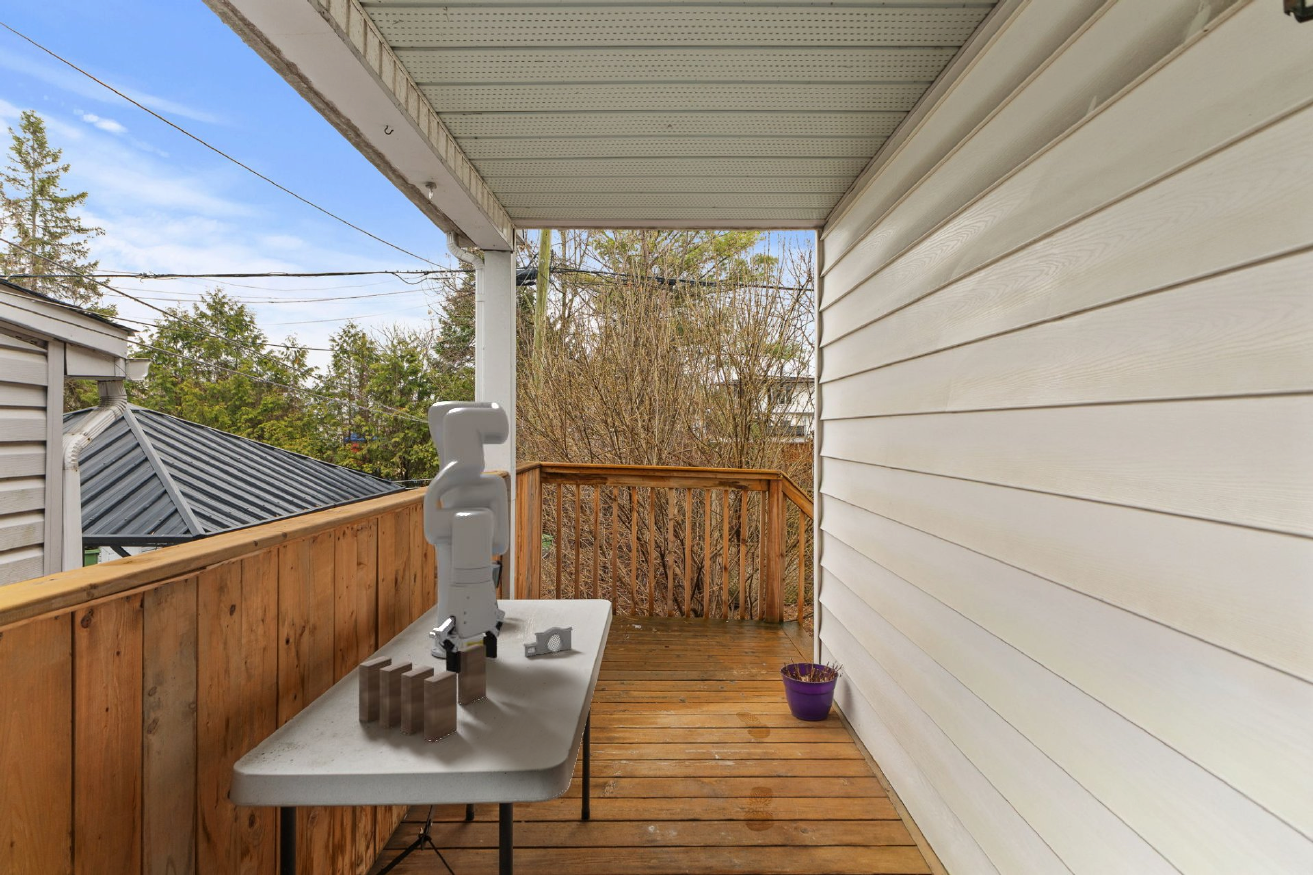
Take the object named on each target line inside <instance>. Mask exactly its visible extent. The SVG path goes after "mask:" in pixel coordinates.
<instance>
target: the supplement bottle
mask: <svg viewBox="0 0 1313 875" xmlns="http://www.w3.org/2000/svg"><path fill="white" fill-rule="evenodd" d="M484 636H485V634H484V633H482V634H479V635H476V636H473V637H470V638H467V639H463V641H462V643H461V645H460V647H459V650H461V649H464V648H467V647H469V646H472V645H475V644H481V645H483V637H484Z"/></svg>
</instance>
